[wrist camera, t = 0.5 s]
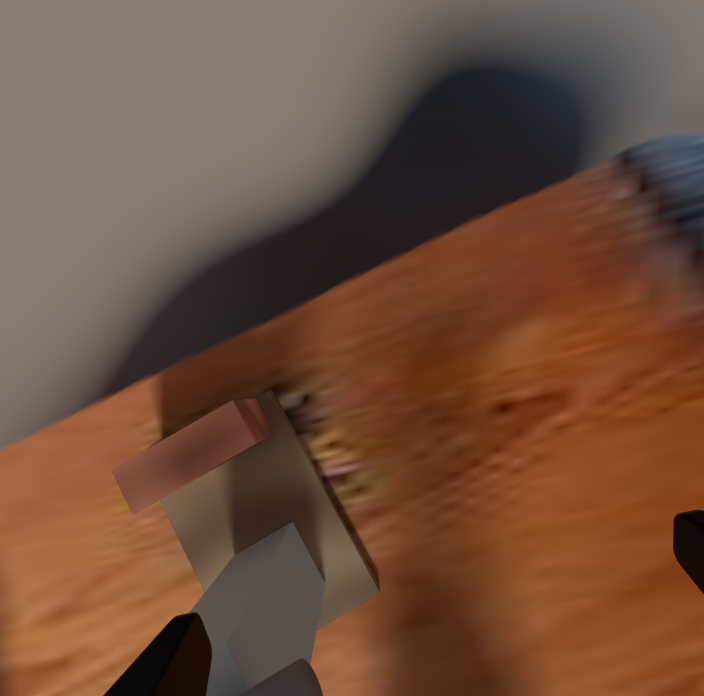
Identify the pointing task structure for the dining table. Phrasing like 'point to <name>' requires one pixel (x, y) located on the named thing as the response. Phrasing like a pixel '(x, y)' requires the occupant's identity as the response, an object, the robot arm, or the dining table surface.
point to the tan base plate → (247, 497)
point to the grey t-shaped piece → (264, 619)
